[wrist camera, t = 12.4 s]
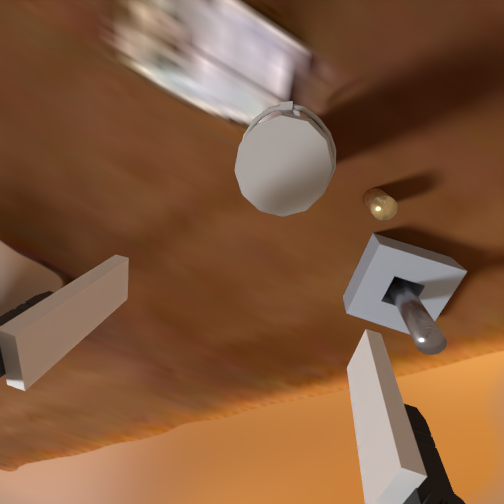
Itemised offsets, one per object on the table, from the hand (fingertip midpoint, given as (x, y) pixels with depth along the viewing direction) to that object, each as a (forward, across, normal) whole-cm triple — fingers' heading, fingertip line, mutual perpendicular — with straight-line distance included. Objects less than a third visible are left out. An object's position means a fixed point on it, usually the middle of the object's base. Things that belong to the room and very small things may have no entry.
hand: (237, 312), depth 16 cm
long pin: (+32, +20, -9) cm, 39 cm away
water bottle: (+32, 0, +7) cm, 33 cm away
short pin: (+32, +12, +3) cm, 35 cm away
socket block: (+32, +20, -9) cm, 39 cm away
